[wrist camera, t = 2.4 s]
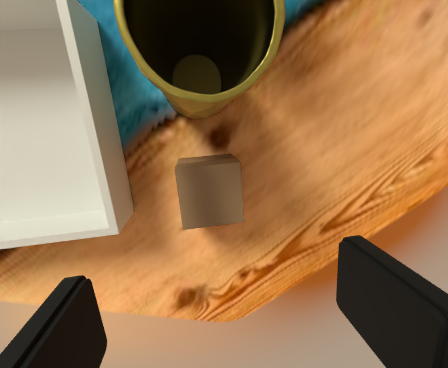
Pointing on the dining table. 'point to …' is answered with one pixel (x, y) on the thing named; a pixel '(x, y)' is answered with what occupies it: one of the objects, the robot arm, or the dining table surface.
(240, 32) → the vase
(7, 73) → the box
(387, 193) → the dining table surface
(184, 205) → the walnut cube
